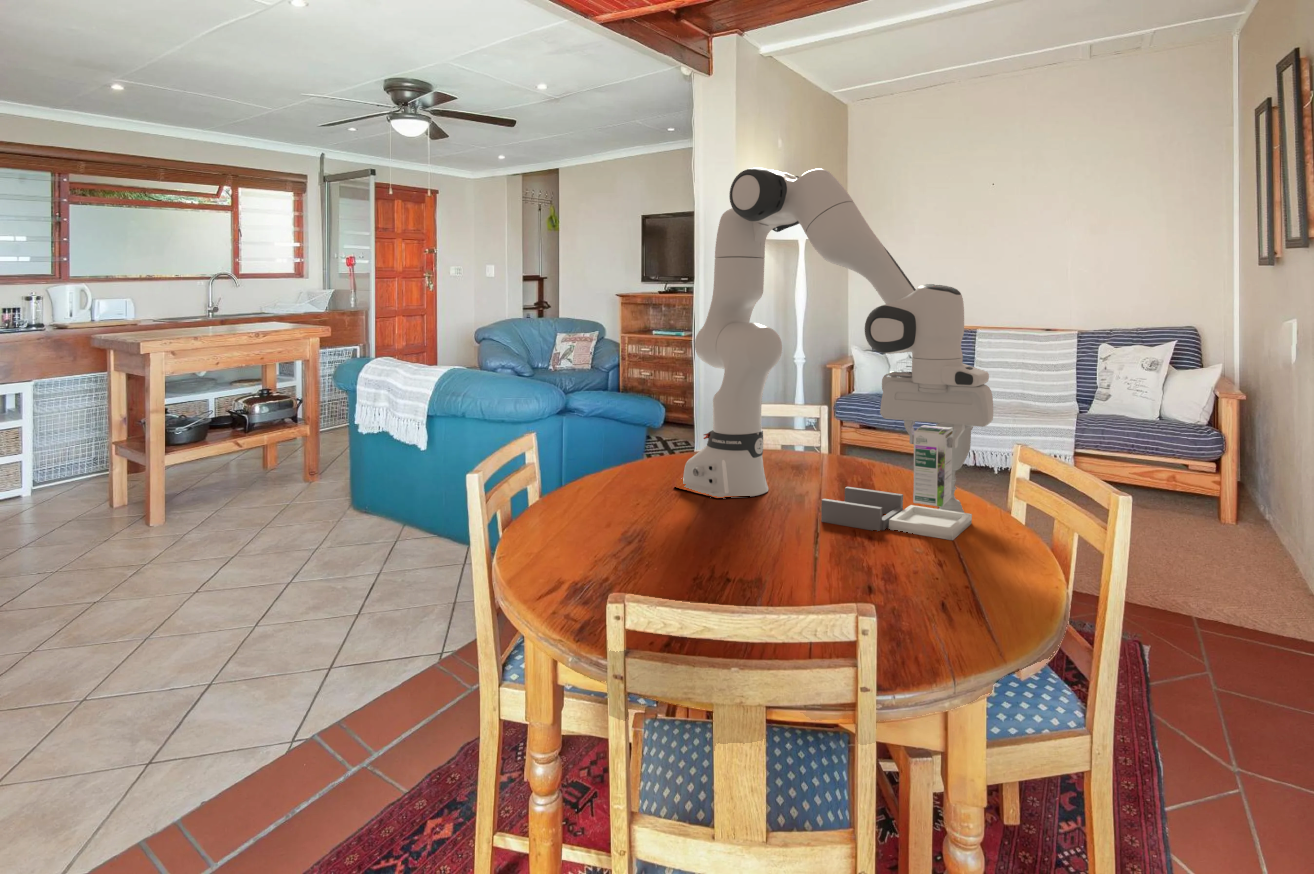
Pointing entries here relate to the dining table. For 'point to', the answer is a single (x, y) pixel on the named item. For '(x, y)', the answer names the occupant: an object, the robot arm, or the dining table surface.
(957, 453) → the chalice
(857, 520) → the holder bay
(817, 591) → the dining table surface
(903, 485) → the dining table surface
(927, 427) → the syrup box
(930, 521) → the tray
